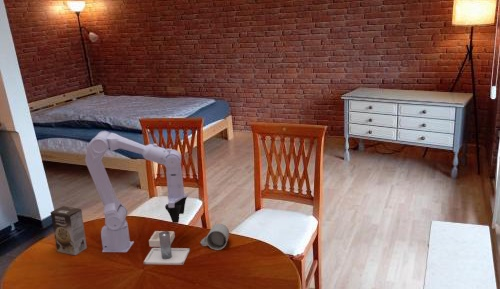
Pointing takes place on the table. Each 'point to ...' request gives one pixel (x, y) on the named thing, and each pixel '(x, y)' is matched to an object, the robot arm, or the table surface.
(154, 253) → the tray
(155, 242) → the square socket block
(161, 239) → the steel pin
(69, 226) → the coffee box
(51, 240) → the table surface
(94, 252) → the table surface
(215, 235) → the ceramic mug
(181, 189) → the robot arm
